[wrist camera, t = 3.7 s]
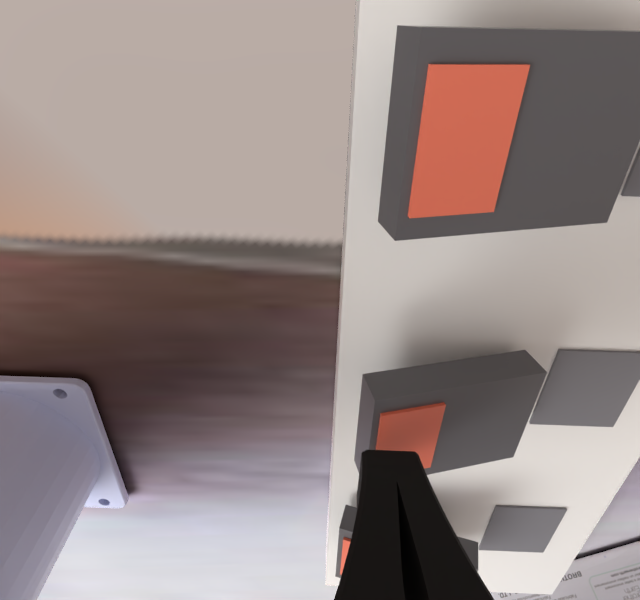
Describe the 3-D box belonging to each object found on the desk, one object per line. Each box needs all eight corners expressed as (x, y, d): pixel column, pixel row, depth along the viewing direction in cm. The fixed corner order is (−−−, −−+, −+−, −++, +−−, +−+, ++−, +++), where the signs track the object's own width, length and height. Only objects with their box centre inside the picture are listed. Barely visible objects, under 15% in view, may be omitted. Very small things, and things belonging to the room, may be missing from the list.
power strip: (326, 544, 23) (325, 587, 22) (396, -741, 6) (423, -1055, 4) (536, 552, 23) (552, 596, 21) (1229, -734, 6) (1616, -1056, 4)
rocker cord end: (377, 221, 10) (396, 242, 9) (396, 25, 8) (424, 27, 7) (575, 205, 11) (610, 224, 10) (636, 30, 9) (688, 32, 8)
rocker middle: (354, 460, 14) (364, 490, 13) (362, 374, 12) (376, 403, 11) (495, 432, 15) (514, 459, 14) (525, 349, 13) (549, 374, 12)
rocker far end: (341, 552, 19) (334, 578, 18) (345, 504, 17) (338, 530, 17) (459, 589, 18) (458, 619, 17) (478, 542, 16) (478, 572, 15)
